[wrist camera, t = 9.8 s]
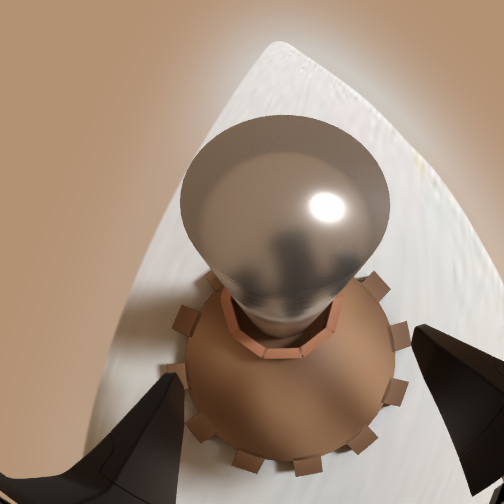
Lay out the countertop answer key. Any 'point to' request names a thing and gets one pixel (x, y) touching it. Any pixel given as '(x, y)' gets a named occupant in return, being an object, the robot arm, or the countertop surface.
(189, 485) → the countertop surface
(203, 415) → the sprocket
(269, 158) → the drive pin
